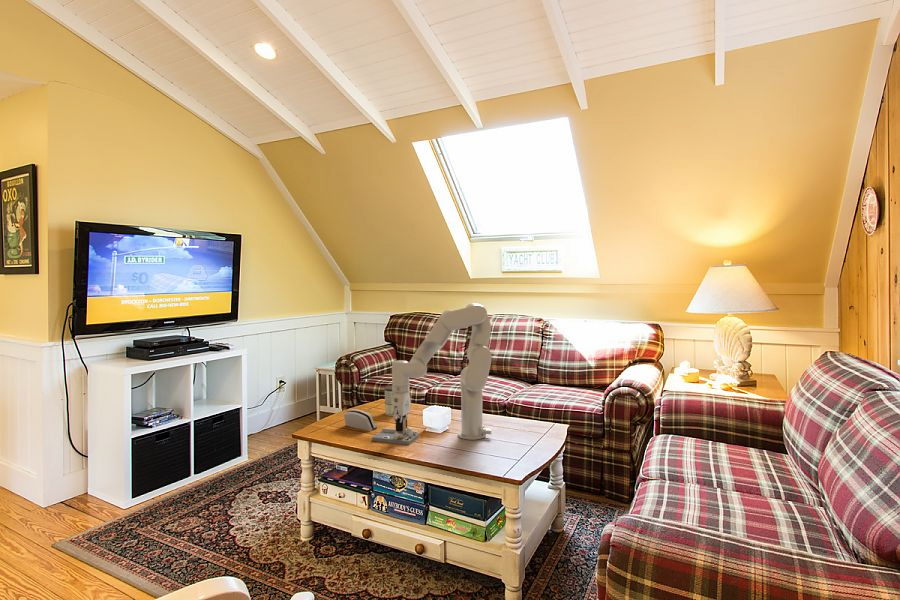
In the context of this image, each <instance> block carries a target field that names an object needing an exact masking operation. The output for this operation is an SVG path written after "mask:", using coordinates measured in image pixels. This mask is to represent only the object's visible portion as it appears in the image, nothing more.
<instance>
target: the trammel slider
mask: <svg viewBox="0 0 900 600" xmlns="http://www.w3.org/2000/svg"><path fill="white" fill-rule="evenodd" d="M398 418H399V419H400V417H398ZM402 422H403V431H402V432H400V431H397V432H395V433H394V436H395V439H398V438H404V437H405V436H407V428H406V417H402Z"/></svg>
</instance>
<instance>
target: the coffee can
mask: <svg viewBox="0 0 900 600" xmlns="http://www.w3.org/2000/svg"><path fill="white" fill-rule="evenodd" d="M392 403H393V392H392V384H390V385H386V386H384V408H385V410H384V415H386V416H390V417H393V416H394V415H393V412H392ZM398 415H399V414H398Z"/></svg>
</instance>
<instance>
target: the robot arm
mask: <svg viewBox="0 0 900 600" xmlns="http://www.w3.org/2000/svg"><path fill="white" fill-rule="evenodd" d="M469 327H471V335H470V339H469V344H468V347H467V350H466V357H467V359H468V361H469V362H468V365H467V366H466V367H463V369H461V372H460V374H459V375H460V376H459V379H460V380H459V381H460V398H461V399H460V401H461V402H460V403H461V404H460V406H461V407H460V408H461V409H460V410H461V416H460V417H461V425H460V426H461V430H460V431H458V432H457V436H458V437H459V438H460V439H464V440H467V441H468V440H470V441H473V440H474V441H475V440H476V441H477V440H481V439H484V438H485V437H487V435H492V429H490V428H486V427H485V425H484V424H483V389H484V388H485V387H486V385H487V382H488V377H489V373H490V370H491V365H492V360H493V359H492V357H493V356H492V351H491V350H490V349H489V345H490V339H491V335H492V333H491V332H492V326H491V321H490V317H489V316H488V311H487V309H486V308H485V306H483V305H481V304H480V303H475V302H472V303H468V304H467V305H466V306H465V307H463V308H459V309H454V310H453V309H446V310H444V311H443V312H442V313H441V314H440V315H439V317H438V319H437V320H436V322H435V323H434V324H433V326H432V328H431V329H430V331H429V333H428V334H427V335H426V337H425V338H424V339H423V341H422V343H421V344H420V345H419V346H418V348H417V350H416V351H415V353H414V354H413V356H412V357H411V359H410V360H409V361H407V360H402V359H399V360H393V362H392V363H391V379H392V381H391V383H392V384H391V385H392V392H393V403H392V412H393V415H394V416H392V419H393V420H394V422H395V429H396V431H400V432H402V431H403V422H402V417H406V429H407V428H408V415H409V413H411V410H412V404H411V403H412V402H411V401H412V400H411V393H410V378H415V379H421V378H423V377H424V376H425V375H427V371H428V366H427V365H428V364H429V362H430V360H431V359H432V357H433V356H434V355H435V354H436V353H437V352H438V351H439V350H441V349H442V348H443V347H444V346H445V344H446V343H447V342H448V340H449V338H450V337H451V335H452V334H453V332H454V331H455V330H456V331H457V330H462V329H466V328H469ZM398 414H399V415H398ZM399 417H400V419H399Z"/></svg>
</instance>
